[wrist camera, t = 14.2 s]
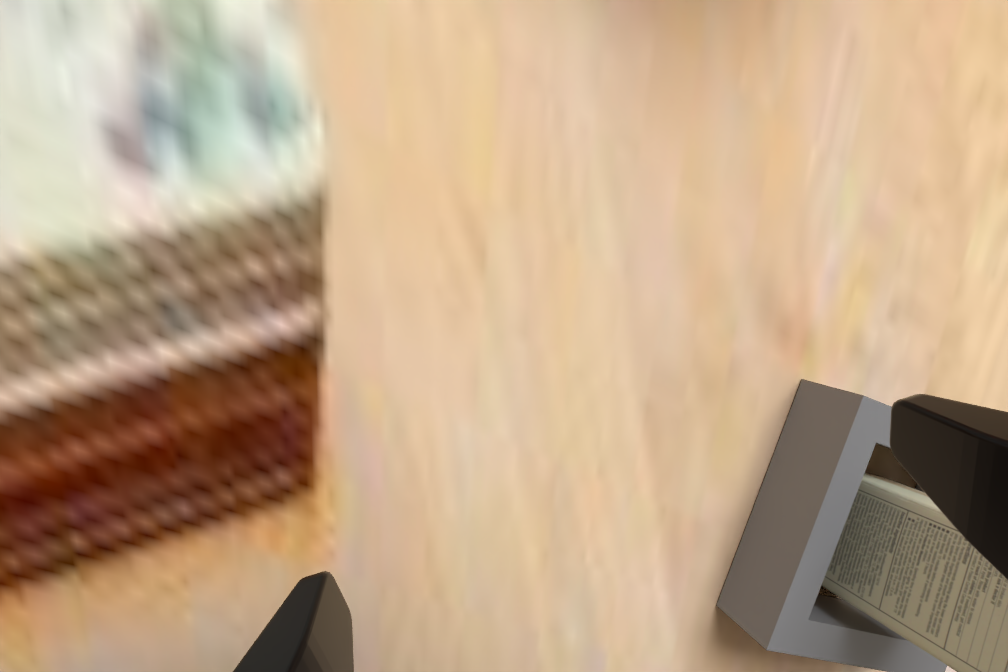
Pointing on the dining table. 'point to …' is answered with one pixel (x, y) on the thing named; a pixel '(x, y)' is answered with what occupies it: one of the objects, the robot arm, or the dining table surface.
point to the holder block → (814, 539)
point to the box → (921, 577)
